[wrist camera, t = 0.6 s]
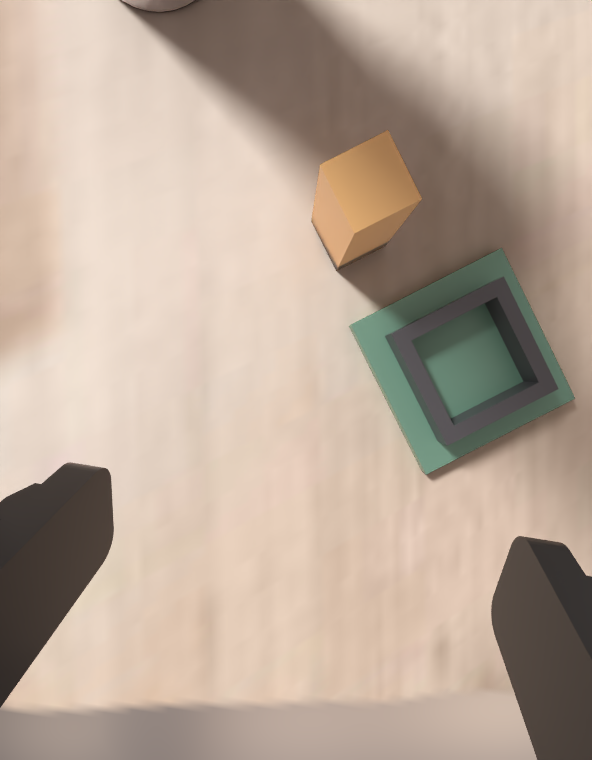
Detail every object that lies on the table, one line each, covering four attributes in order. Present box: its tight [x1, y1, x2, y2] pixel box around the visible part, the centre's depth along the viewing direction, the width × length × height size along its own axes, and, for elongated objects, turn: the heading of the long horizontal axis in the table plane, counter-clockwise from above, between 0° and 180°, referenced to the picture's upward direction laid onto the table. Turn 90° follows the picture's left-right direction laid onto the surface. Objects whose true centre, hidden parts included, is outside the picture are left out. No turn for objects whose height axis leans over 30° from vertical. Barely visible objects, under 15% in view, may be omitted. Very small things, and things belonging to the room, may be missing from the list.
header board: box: [349, 248, 575, 474], centre depth 31 cm, size 12×12×3 cm
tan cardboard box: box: [312, 130, 422, 271], centre depth 28 cm, size 4×4×9 cm
